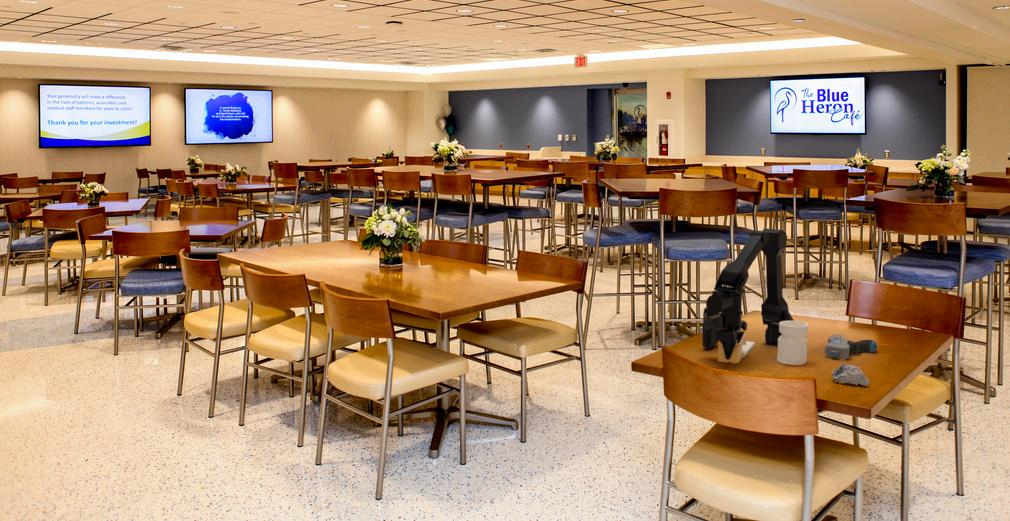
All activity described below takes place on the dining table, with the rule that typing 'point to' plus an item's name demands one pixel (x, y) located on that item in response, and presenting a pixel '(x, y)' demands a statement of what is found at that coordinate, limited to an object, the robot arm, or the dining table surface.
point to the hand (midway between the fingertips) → (730, 356)
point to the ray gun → (847, 347)
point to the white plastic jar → (792, 342)
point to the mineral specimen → (850, 375)
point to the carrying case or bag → (709, 331)
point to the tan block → (734, 357)
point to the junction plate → (746, 345)
